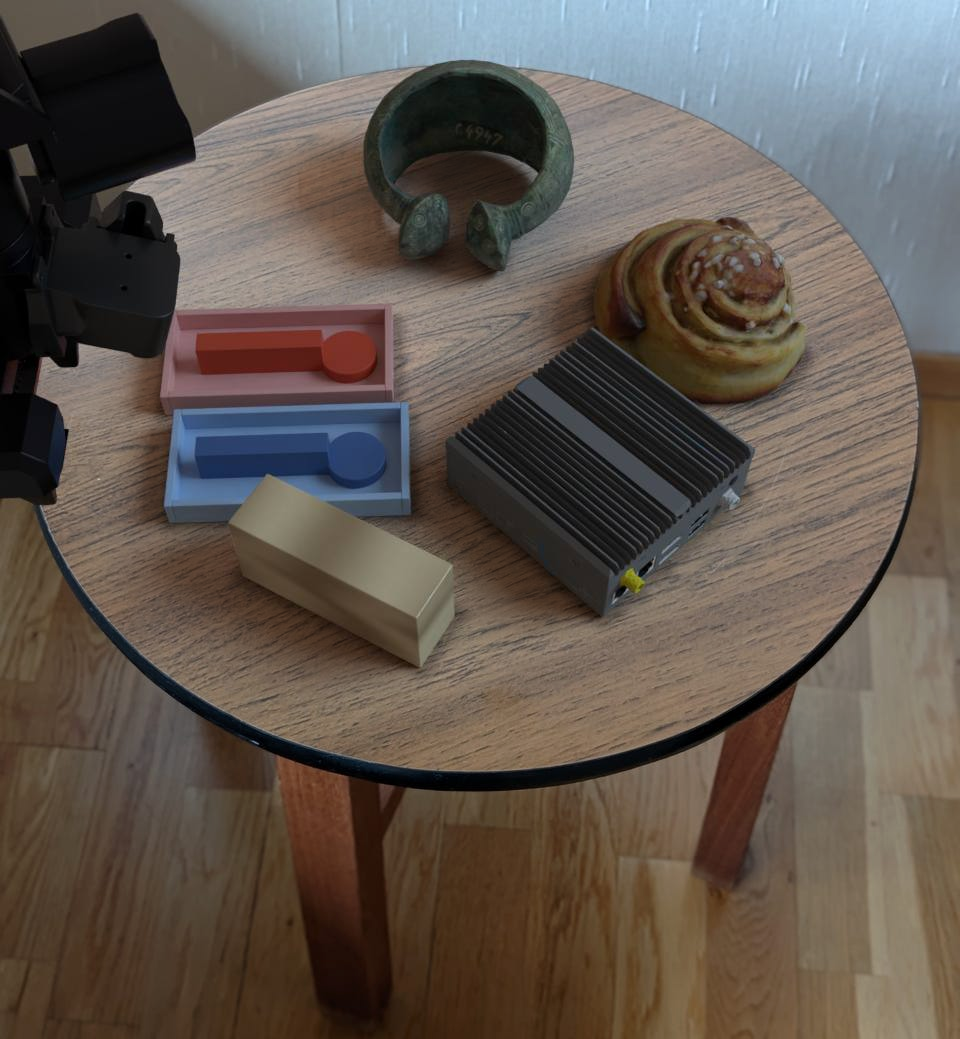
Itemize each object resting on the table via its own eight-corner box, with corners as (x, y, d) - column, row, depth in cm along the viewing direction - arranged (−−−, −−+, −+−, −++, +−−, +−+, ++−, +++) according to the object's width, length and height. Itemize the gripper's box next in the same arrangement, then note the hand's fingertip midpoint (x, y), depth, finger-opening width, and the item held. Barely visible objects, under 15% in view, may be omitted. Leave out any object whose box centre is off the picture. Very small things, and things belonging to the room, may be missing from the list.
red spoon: (377, 339, 91) (375, 314, 89) (377, 382, 89) (375, 358, 86) (204, 344, 90) (198, 319, 88) (200, 388, 88) (193, 364, 86)
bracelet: (349, 275, 94) (337, 166, 86) (381, 131, 103) (373, 19, 94) (561, 292, 93) (570, 184, 85) (577, 146, 102) (585, 34, 93)
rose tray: (165, 415, 88) (159, 397, 86) (175, 328, 92) (169, 309, 90) (394, 407, 88) (392, 389, 86) (393, 321, 92) (391, 303, 90)
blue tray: (169, 523, 83) (163, 506, 81) (179, 426, 87) (173, 409, 85) (410, 515, 83) (409, 498, 82) (409, 419, 87) (408, 401, 86)
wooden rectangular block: (455, 616, 79) (453, 564, 74) (420, 668, 78) (416, 619, 72) (279, 528, 83) (266, 472, 78) (242, 576, 81) (226, 522, 76)
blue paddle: (386, 439, 86) (384, 415, 84) (386, 488, 84) (384, 464, 82) (204, 445, 86) (197, 421, 84) (199, 494, 84) (192, 471, 82)
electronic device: (615, 630, 79) (623, 587, 75) (439, 479, 85) (437, 431, 81) (756, 503, 84) (771, 456, 80) (580, 368, 90) (585, 318, 86)
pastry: (762, 431, 87) (786, 351, 80) (557, 345, 91) (563, 262, 84) (835, 297, 93) (862, 212, 87) (640, 223, 97) (652, 136, 90)
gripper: (126, 378, 54) (195, 575, 67) (167, 75, 64) (220, 297, 77) (-153, 387, 54) (-29, 583, 67) (-67, 81, 64) (26, 303, 77)
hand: (58, 431), depth 72 cm, fingers open, 9 cm apart
